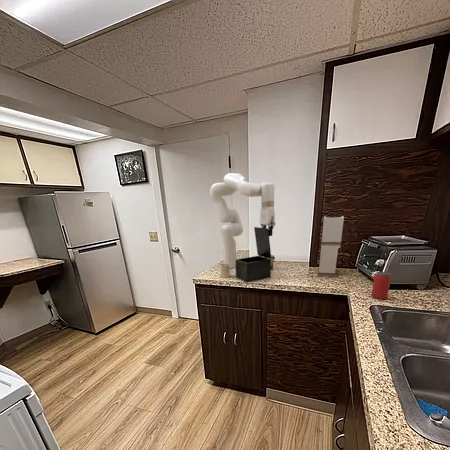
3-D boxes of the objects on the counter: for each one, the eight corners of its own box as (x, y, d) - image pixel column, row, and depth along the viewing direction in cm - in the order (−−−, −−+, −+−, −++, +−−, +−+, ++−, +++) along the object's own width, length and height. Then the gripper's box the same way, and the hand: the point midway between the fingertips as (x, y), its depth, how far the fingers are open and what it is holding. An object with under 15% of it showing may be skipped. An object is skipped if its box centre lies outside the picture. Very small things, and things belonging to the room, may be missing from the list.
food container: (274, 267, 180) (274, 254, 177) (274, 270, 175) (275, 256, 171) (257, 268, 182) (257, 254, 178) (257, 270, 176) (257, 256, 172)
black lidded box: (247, 282, 152) (246, 263, 148) (236, 277, 163) (235, 259, 159) (270, 277, 159) (270, 259, 155) (258, 272, 171) (258, 255, 166)
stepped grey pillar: (336, 276, 153) (343, 217, 140) (318, 275, 157) (323, 218, 144) (336, 271, 163) (343, 216, 150) (319, 270, 167) (324, 216, 154)
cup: (219, 276, 168) (218, 264, 165) (227, 274, 170) (226, 263, 167) (223, 278, 163) (223, 266, 160) (231, 276, 165) (231, 265, 162)
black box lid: (267, 228, 147) (273, 226, 148) (254, 227, 158) (260, 225, 160) (270, 258, 155) (276, 256, 156) (257, 255, 166) (263, 253, 168)
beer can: (386, 300, 116) (391, 276, 111) (370, 298, 119) (374, 274, 114) (386, 296, 121) (391, 272, 116) (371, 294, 124) (375, 270, 120)
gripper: (254, 205, 155) (254, 234, 162) (271, 205, 141) (270, 237, 148) (264, 204, 158) (264, 233, 165) (281, 204, 144) (280, 236, 151)
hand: (267, 235), depth 156 cm, fingers closed on black box lid, 5 cm apart
